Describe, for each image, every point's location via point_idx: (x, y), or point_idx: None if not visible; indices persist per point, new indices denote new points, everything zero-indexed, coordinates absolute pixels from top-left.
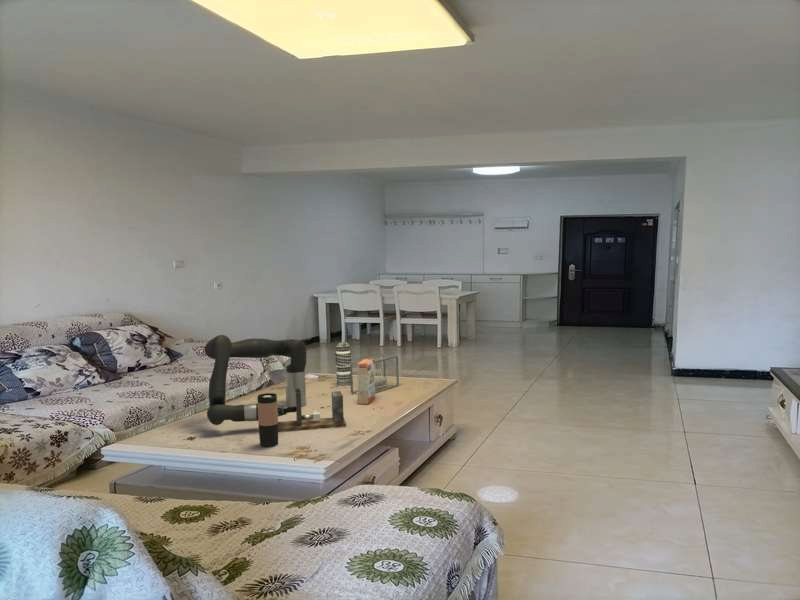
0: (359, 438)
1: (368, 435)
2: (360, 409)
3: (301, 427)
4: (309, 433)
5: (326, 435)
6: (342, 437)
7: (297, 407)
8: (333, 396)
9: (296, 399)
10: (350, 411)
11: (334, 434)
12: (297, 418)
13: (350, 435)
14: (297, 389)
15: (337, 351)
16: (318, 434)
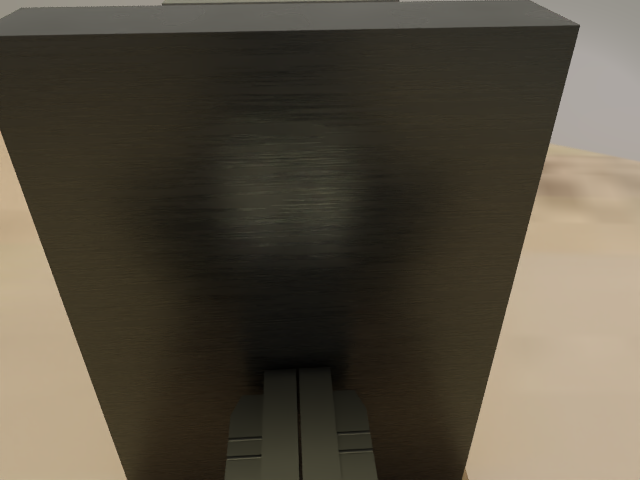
0: (628, 177)
1: (561, 153)
2: (6, 155)
3: (465, 475)
4: (578, 414)
5: (611, 299)
6: (633, 229)
7: (496, 312)
8: (384, 1)
9: (535, 178)
10: (9, 186)
11: (572, 260)
12: (466, 449)
13: (578, 201)
14: (83, 20)
15: None
16: (596, 346)
